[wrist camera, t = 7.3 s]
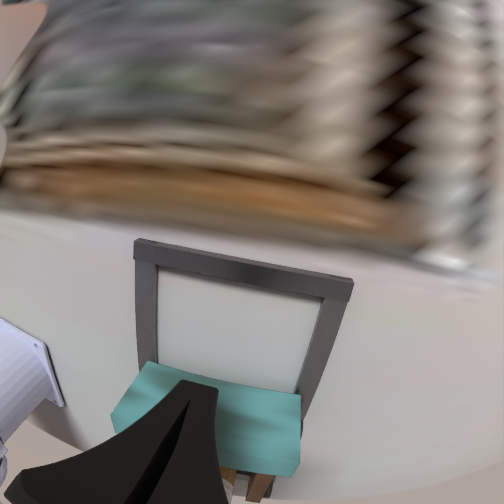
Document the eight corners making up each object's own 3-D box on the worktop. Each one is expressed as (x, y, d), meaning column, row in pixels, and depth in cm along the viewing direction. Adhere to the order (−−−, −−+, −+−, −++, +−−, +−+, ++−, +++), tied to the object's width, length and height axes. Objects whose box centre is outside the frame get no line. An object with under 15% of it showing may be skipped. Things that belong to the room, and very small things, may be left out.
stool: (152, 458, 20) (133, 499, 15) (139, 357, 16) (100, 410, 12) (268, 486, 19) (262, 531, 15) (310, 396, 16) (311, 464, 11)
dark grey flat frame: (152, 450, 21) (150, 455, 20) (139, 238, 15) (133, 240, 14) (273, 478, 20) (272, 483, 19) (352, 278, 14) (354, 283, 13)
